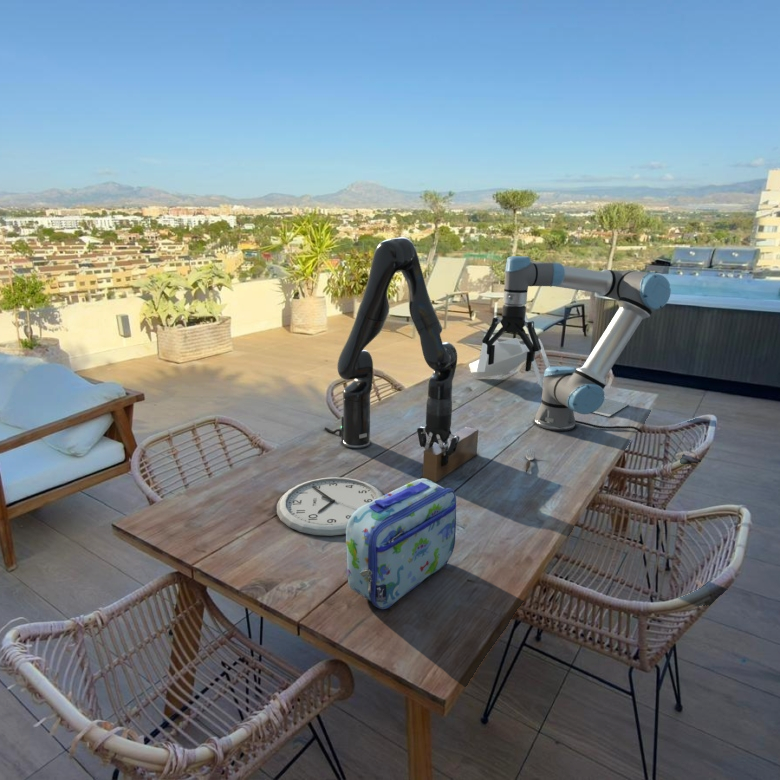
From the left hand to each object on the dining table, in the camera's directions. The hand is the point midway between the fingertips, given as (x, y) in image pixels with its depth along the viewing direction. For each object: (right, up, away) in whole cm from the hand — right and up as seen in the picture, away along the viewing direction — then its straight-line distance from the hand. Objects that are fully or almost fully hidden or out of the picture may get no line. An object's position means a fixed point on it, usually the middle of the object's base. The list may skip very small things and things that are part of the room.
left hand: (436, 462), depth 160 cm
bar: (+5, -2, +8) cm, 10 cm away
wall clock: (-30, -9, -17) cm, 36 cm away
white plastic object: (+44, +25, +96) cm, 109 cm away
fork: (+31, -2, +10) cm, 33 cm away
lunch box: (-11, -19, -47) cm, 52 cm away
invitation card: (+77, +15, +67) cm, 103 cm away
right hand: (+26, +30, +19) cm, 44 cm away
